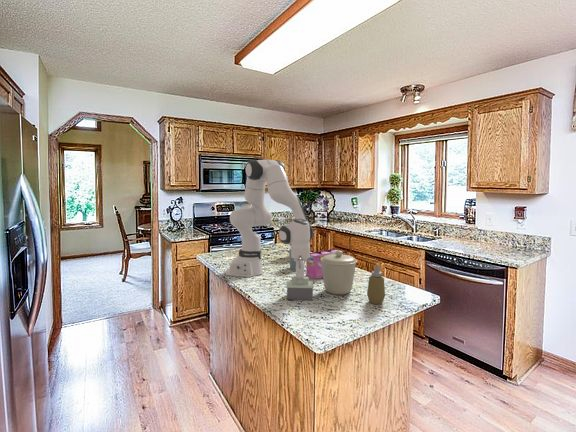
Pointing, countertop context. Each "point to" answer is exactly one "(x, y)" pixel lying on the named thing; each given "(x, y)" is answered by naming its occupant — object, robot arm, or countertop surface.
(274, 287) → the countertop surface
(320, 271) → the gum box
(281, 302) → the countertop surface
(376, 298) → the squeeze bottle
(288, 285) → the lid
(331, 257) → the canister
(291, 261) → the grey cup
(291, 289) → the box
